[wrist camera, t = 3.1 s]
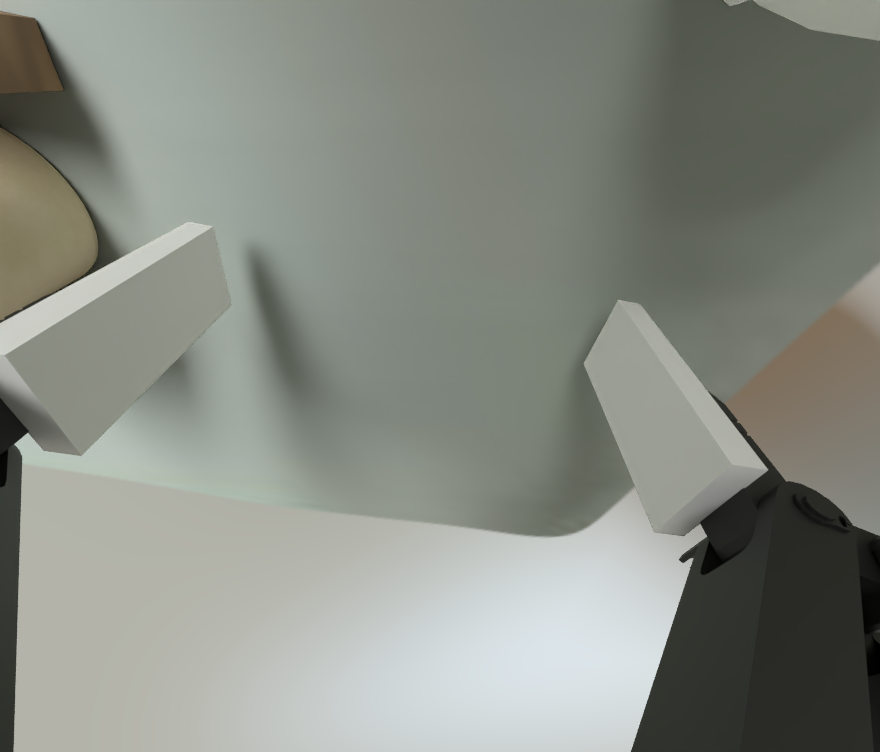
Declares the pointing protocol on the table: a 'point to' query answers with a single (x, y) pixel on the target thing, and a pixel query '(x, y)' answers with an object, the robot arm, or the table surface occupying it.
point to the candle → (38, 228)
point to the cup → (829, 15)
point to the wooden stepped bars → (24, 57)
